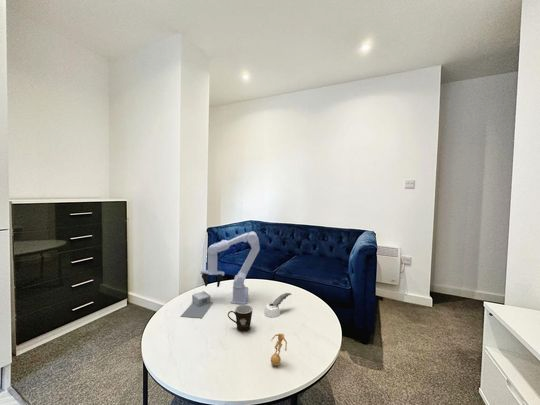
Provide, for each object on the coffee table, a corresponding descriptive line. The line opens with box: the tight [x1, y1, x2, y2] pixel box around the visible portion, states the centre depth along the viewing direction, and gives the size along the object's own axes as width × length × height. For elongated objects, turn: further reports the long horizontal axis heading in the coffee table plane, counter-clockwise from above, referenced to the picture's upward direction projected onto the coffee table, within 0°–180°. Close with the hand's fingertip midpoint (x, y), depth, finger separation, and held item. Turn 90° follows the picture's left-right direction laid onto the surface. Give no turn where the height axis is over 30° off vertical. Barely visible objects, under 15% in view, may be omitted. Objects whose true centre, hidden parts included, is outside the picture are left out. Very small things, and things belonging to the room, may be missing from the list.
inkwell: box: [263, 292, 292, 318], centre depth 136 cm, size 9×18×10 cm, turn 123°
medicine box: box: [191, 291, 212, 306], centre depth 144 cm, size 8×4×9 cm
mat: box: [180, 301, 214, 319], centre depth 136 cm, size 12×18×1 cm, turn 174°
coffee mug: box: [227, 304, 253, 333], centre depth 119 cm, size 12×9×10 cm
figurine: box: [270, 332, 288, 367], centre depth 95 cm, size 8×6×12 cm
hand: (212, 286), depth 146 cm, fingers open, 7 cm apart
